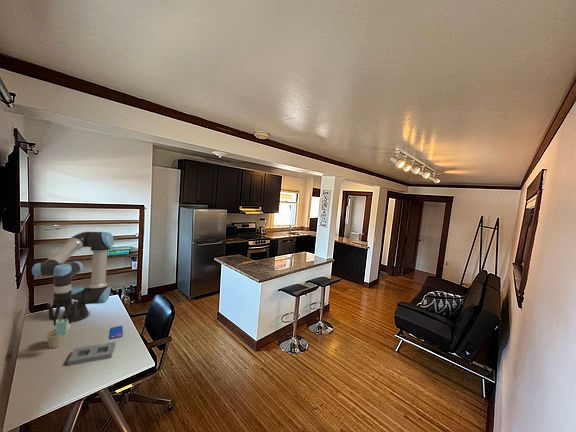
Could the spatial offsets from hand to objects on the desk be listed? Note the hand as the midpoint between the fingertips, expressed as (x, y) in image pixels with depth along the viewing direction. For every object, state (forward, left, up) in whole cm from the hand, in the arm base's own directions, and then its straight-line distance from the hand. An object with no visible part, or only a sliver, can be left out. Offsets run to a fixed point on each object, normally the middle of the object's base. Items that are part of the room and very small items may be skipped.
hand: (62, 329), depth 143 cm
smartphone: (-15, +24, -16) cm, 32 cm away
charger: (0, 0, -3) cm, 3 cm away
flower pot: (-10, -6, -15) cm, 19 cm away
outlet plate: (+7, +16, -15) cm, 23 cm away
